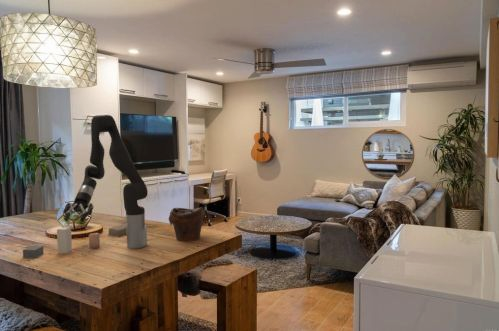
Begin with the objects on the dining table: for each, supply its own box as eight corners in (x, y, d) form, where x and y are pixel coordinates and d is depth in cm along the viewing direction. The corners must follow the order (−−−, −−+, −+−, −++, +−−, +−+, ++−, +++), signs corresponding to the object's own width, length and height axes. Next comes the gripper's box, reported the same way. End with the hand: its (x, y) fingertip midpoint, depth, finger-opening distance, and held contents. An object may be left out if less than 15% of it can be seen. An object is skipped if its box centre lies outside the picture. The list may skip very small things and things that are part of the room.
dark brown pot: (165, 236, 202) (165, 205, 200) (198, 232, 211) (198, 202, 210) (174, 245, 186) (173, 211, 185) (209, 240, 195) (209, 208, 194)
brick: (118, 237, 202) (118, 229, 202) (107, 235, 206) (107, 227, 205) (138, 230, 217) (138, 222, 217) (128, 229, 221) (128, 221, 220)
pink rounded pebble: (101, 246, 185) (101, 232, 185) (96, 249, 180) (96, 235, 180) (92, 245, 185) (91, 232, 185) (87, 248, 180) (86, 235, 180)
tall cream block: (72, 250, 178) (70, 227, 177) (66, 253, 173) (65, 229, 172) (63, 250, 178) (62, 227, 177) (57, 253, 174) (56, 229, 173)
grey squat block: (43, 254, 173) (43, 246, 173) (35, 258, 167) (34, 250, 167) (31, 253, 174) (31, 245, 173) (23, 258, 168) (22, 249, 167)
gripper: (69, 191, 191) (57, 216, 181) (94, 191, 190) (83, 217, 180) (75, 199, 197) (63, 224, 187) (99, 199, 196) (89, 225, 185)
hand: (73, 221), depth 183 cm, fingers open, 8 cm apart
